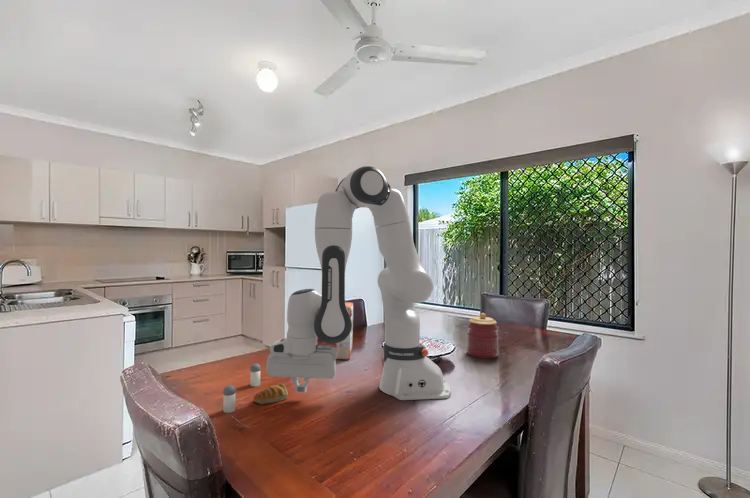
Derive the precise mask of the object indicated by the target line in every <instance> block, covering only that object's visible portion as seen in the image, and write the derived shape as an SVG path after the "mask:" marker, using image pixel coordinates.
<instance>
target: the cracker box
mask: <svg viewBox="0 0 750 498" xmlns="http://www.w3.org/2000/svg"><path fill="white" fill-rule="evenodd" d="M345 305H346V307H347V310H348V313H349V316H350V318H351V322H352V328H351V332H350V334H349V335H348V337H347V338H346V339H345V340H343V341H341V342H339V343H335V345H336V347H335V349H336V350H337V359H336V360H348V361H349V360H350V359H351V355H352V351H353V336H354V334H353V333H354V332H353V331H354V330H353V329H354V302H352V301H351V302H350V301H349V302H348V301H345Z"/></svg>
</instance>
